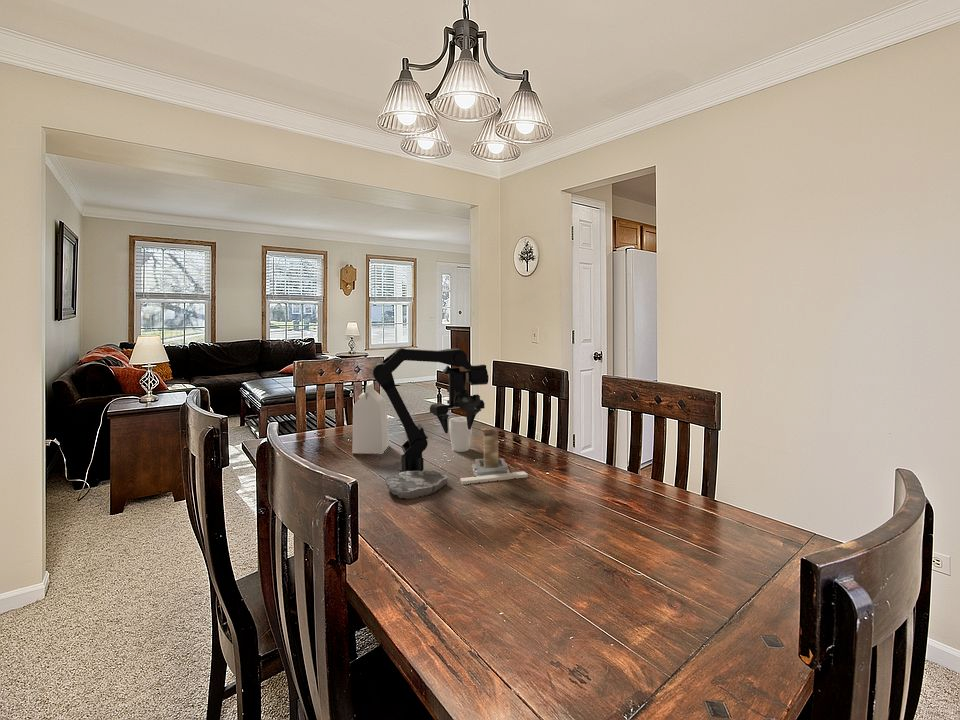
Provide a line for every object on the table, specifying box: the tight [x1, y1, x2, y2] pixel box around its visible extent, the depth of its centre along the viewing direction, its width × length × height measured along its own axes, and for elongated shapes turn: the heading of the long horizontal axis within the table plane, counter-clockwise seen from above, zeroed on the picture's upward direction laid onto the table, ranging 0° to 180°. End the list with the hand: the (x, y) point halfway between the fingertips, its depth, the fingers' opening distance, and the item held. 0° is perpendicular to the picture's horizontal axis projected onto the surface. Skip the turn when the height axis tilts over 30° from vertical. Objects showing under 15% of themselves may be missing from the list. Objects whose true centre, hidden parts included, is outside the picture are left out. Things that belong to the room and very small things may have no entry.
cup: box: [448, 416, 473, 453], centre depth 190 cm, size 9×9×12 cm
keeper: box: [471, 457, 511, 477], centre depth 166 cm, size 12×11×3 cm
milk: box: [351, 382, 390, 455], centre depth 189 cm, size 12×12×26 cm
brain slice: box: [384, 470, 449, 500], centre depth 149 cm, size 20×17×3 cm
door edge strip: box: [459, 471, 529, 485], centre depth 157 cm, size 22×3×1 cm, turn 107°
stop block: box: [482, 428, 499, 467], centre depth 165 cm, size 5×5×13 cm
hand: (458, 431), depth 167 cm, fingers open, 9 cm apart
